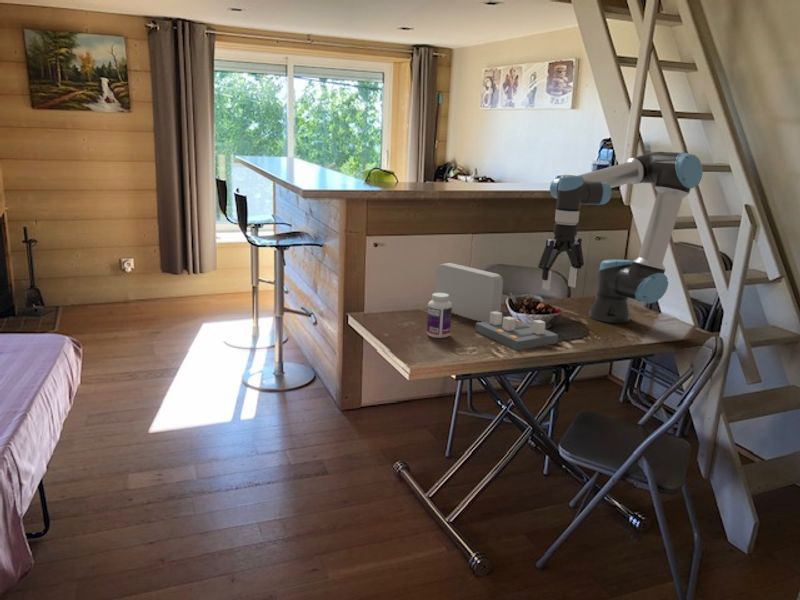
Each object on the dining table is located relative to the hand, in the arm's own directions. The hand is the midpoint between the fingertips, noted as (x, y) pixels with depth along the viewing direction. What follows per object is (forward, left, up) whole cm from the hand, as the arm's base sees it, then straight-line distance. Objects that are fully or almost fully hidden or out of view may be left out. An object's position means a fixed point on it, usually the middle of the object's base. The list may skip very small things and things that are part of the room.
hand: (558, 288), depth 212 cm
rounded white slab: (+11, -36, -18) cm, 42 cm away
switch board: (+11, -7, -18) cm, 22 cm away
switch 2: (+7, 0, -15) cm, 17 cm away
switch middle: (+14, -7, -15) cm, 22 cm away
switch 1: (+14, -14, -15) cm, 25 cm away
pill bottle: (+35, -19, -18) cm, 44 cm away
